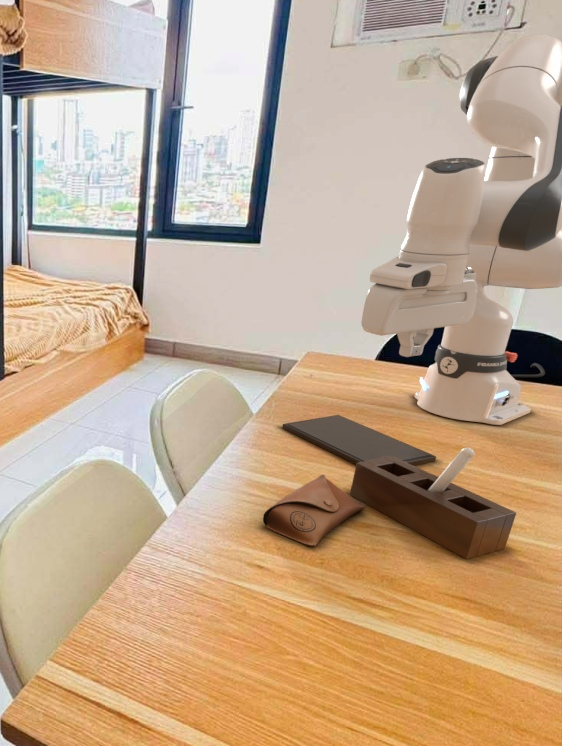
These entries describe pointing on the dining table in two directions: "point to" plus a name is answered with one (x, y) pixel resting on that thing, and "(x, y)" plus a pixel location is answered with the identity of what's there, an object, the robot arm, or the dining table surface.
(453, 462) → the stylus
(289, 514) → the sunglasses case
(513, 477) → the dining table surface
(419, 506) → the pen holder
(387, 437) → the tablet
